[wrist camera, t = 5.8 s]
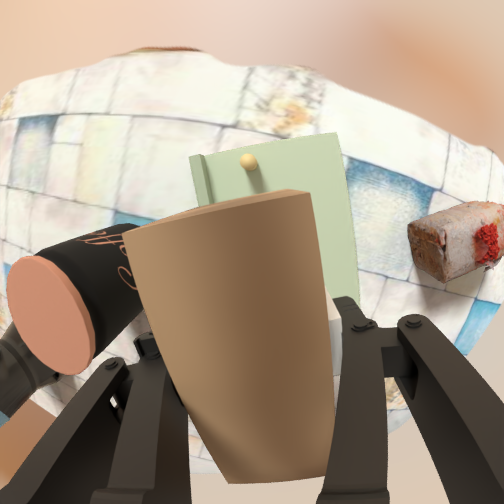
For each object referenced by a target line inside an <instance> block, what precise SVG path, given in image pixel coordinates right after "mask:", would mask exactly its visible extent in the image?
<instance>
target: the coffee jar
mask: <svg viewBox="0 0 504 504" xmlns="http://www.w3.org/2000/svg"><path fill="white" fill-rule="evenodd" d="M138 227H141V226H137V225H134V224H130V223H127V224H118V225H114V226H111V227H108V228H105V229H101V230H98V231H95V232H92V233H89V234H86V235H83V236H80V237H77V238H74V239H71V240H68V241H65V242H62V243H59V244H56V245H54V246H51V247H48V248H45V249H42V250H41V251H39V252H38V253H37V254H35V255H34V256H26V257H22V258H20V259H19V260H18V261H17V262H15V263H14V264H13V265H12V267H11V269H10V272H9V274H8V278H7V289H6V291H7V299H8V306H9V310H10V313H11V316H12V319H13V322H14V324H15V326H16V328H17V330H18V332H19V334H20V336H21V338H22V339H23V341H24V342H25V343H26V345H27V346H28V348H29V349H30V350H31V352H32V353H33V354H34V355H35V356H36V357H37V358H38V359H39V360H40V361H42V362H43V363H44V364H45V365H47V366H48V367H50V368H51V369H53V370H55V371H56V372H59V373H62V374H66V375H75V374H80V373H81V372H83V371H84V370H85V369H86V368H87V367H88V366H89V365H90V363H91V362H92V359H94V358H95V357H97V356H98V355H99V354H100V353H101V352H102V351H104V349H105V348H106V347H107V346H108V345H109V344H110V343H111V342H112V341H113V340H114V339H115V338H116V337H117V336H118V335H119V334H120V333H121V332H122V331H123V329H124V328H125V327H126V326H127V325H128V324H129V323H130V322H131V321H132V320H133V319H134V318H135V317H136V316H137V315H138V314H139V313H140V312H141V311H142V310H143V309H144V307H143V304H142V301H141V298H140V295H139V292H138V289H137V286H136V283H135V280H134V277H133V273H132V270H131V266H130V263H129V259H128V256H127V252H126V249H125V245H124V241H123V237H122V233H124V232H127V231H129V230H132V229H135V228H138Z"/></svg>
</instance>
